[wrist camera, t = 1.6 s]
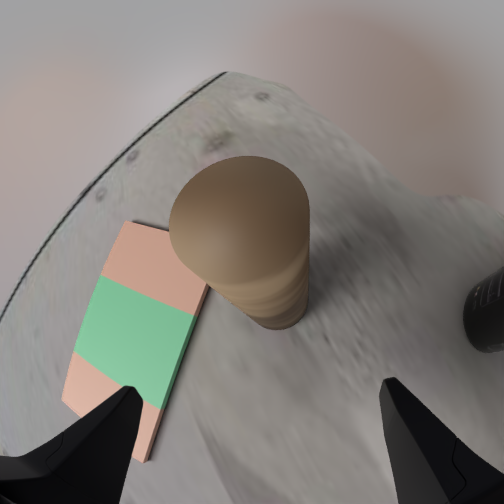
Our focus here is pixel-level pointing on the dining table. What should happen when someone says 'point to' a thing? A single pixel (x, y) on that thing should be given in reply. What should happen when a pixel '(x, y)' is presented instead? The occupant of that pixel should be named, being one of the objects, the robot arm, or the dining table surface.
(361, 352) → the dining table surface
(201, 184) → the walnut peg
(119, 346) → the board
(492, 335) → the supplement bottle
